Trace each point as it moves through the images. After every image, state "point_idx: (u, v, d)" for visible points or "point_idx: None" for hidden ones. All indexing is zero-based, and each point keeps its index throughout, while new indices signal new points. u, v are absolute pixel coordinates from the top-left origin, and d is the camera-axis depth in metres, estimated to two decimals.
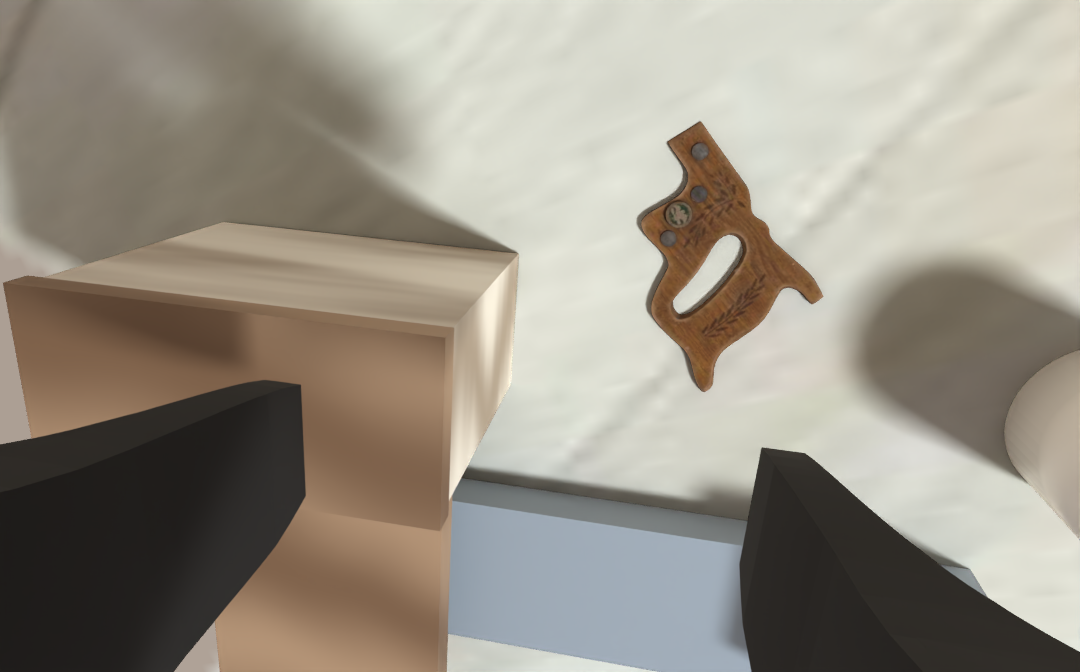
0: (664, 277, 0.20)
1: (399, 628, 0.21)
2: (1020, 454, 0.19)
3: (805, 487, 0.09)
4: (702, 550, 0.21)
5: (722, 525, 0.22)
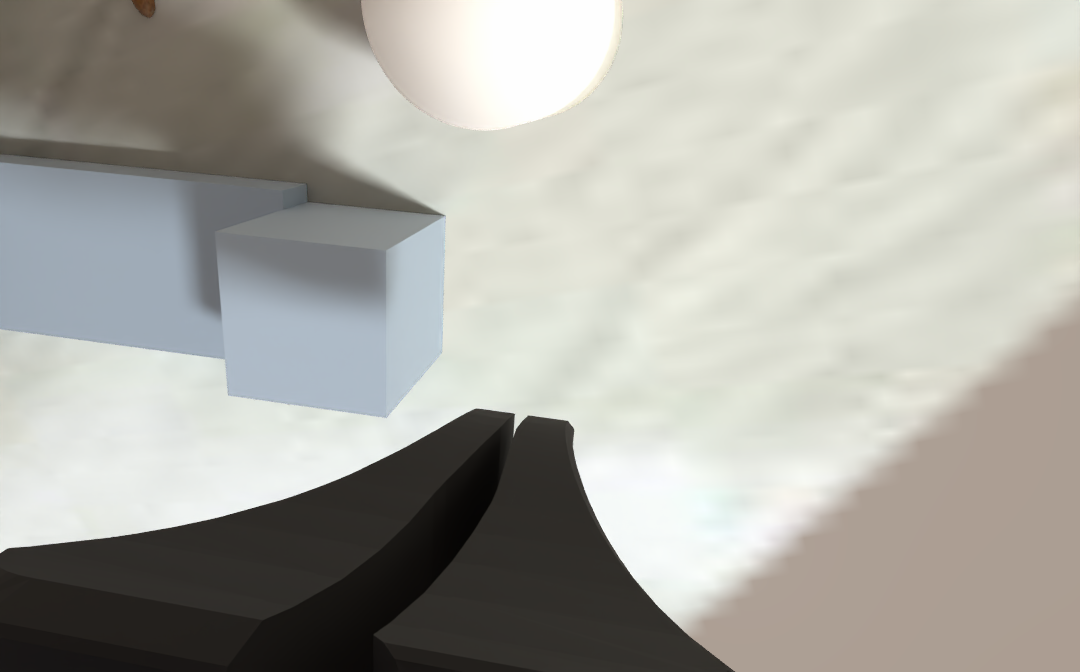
0: None
1: None
2: None
3: (525, 447, 0.09)
4: (149, 190, 0.20)
5: (188, 175, 0.20)
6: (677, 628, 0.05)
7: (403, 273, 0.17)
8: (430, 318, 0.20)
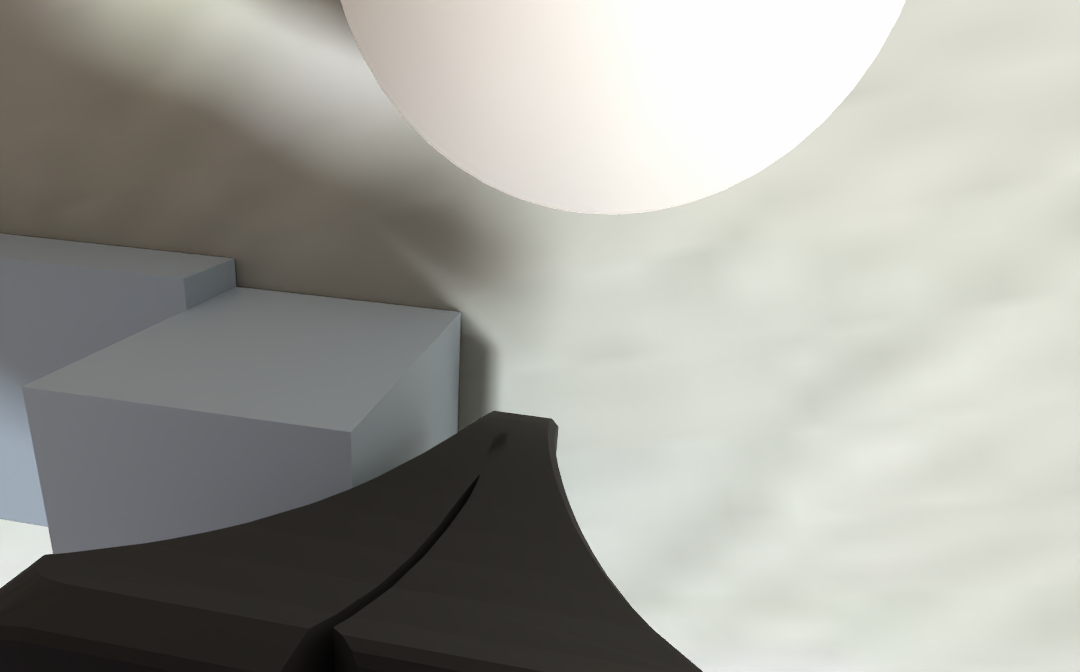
0: None
1: None
2: None
3: (506, 444, 0.09)
4: None
5: (40, 246, 0.12)
6: (643, 622, 0.05)
7: (387, 449, 0.09)
8: None
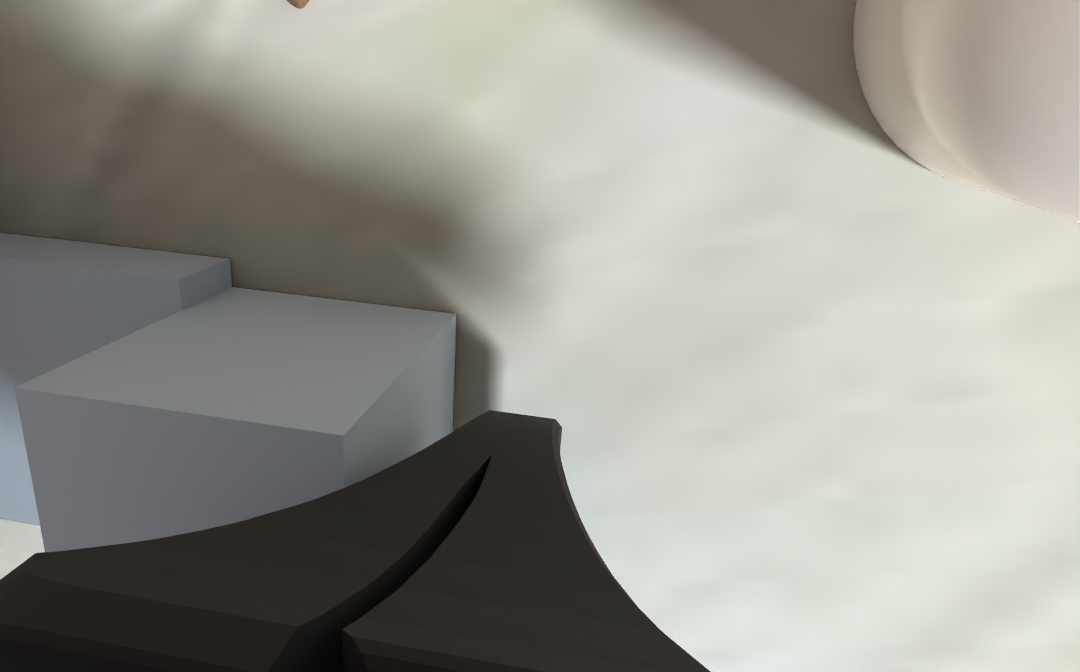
0: None
1: None
2: (873, 53, 0.09)
3: (510, 445, 0.09)
4: None
5: (35, 244, 0.12)
6: (651, 623, 0.05)
7: (380, 453, 0.09)
8: None
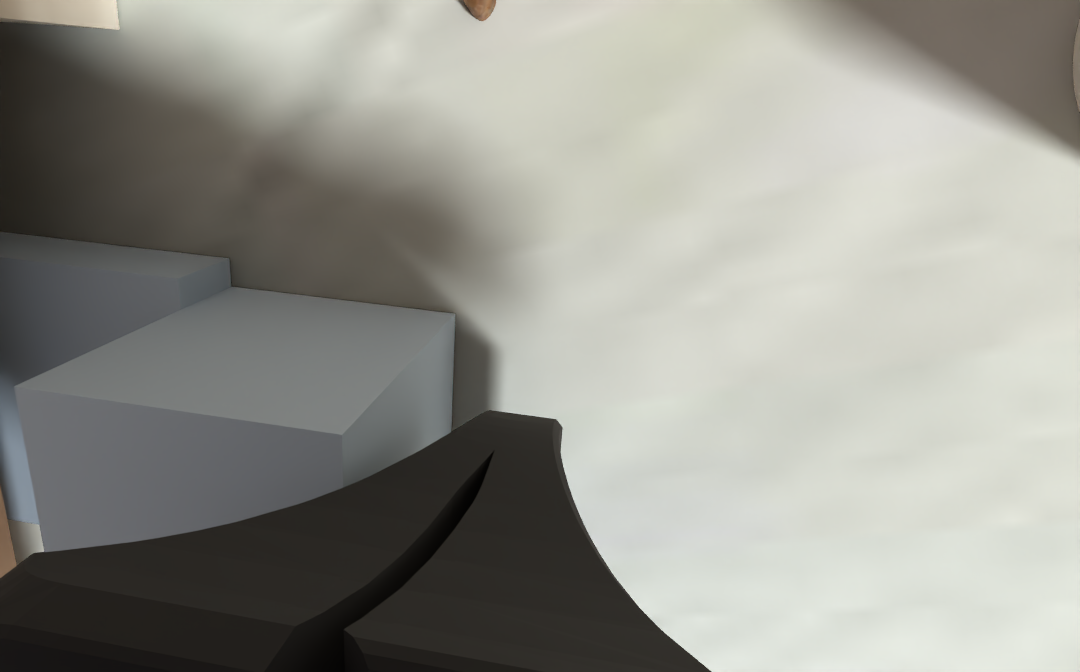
0: None
1: None
2: None
3: (511, 445, 0.09)
4: None
5: (34, 244, 0.12)
6: (652, 623, 0.05)
7: (379, 452, 0.09)
8: None
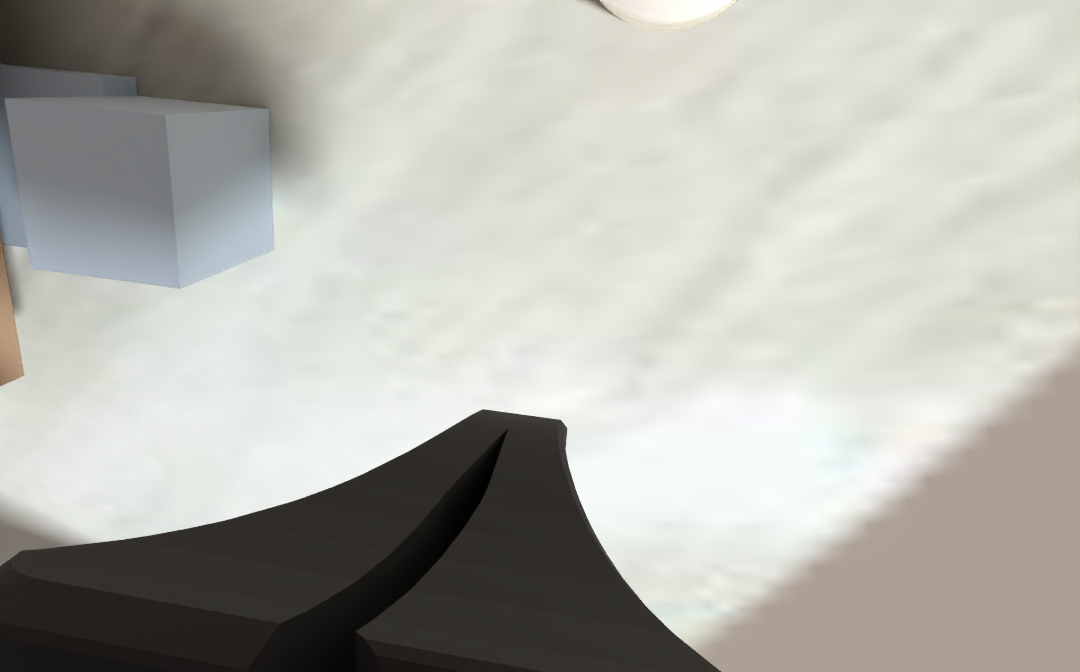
0: None
1: None
2: None
3: (516, 446, 0.09)
4: None
5: (19, 66, 0.21)
6: (662, 625, 0.05)
7: (197, 147, 0.17)
8: (250, 207, 0.20)
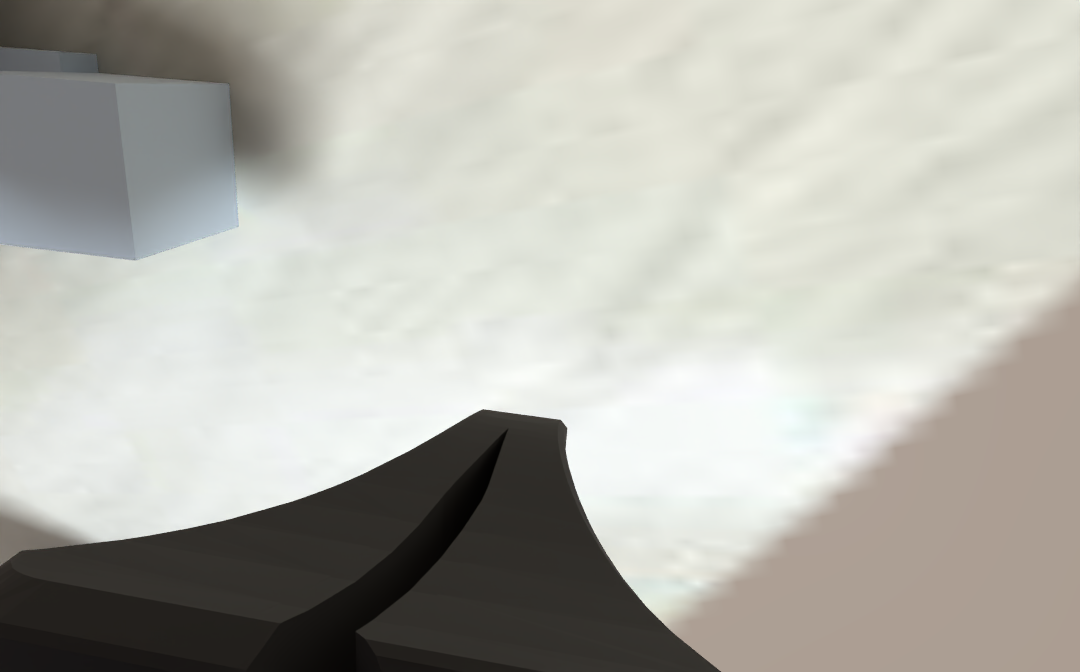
0: None
1: None
2: None
3: (516, 446, 0.09)
4: None
5: None
6: (662, 625, 0.05)
7: (151, 118, 0.17)
8: (211, 182, 0.20)
